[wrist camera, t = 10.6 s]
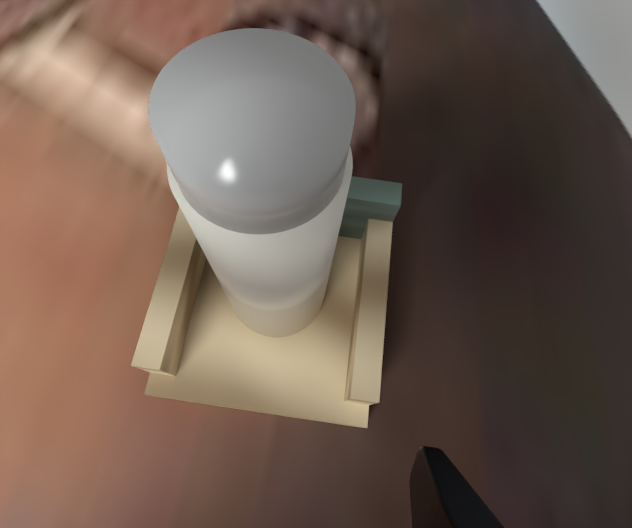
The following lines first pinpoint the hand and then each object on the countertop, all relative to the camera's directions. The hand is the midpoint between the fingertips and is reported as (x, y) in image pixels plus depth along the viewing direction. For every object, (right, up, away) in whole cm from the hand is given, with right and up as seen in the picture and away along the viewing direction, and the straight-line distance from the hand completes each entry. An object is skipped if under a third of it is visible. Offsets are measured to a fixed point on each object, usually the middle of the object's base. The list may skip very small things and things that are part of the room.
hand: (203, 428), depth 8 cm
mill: (0, +2, +12) cm, 13 cm away
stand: (0, +2, +14) cm, 14 cm away
